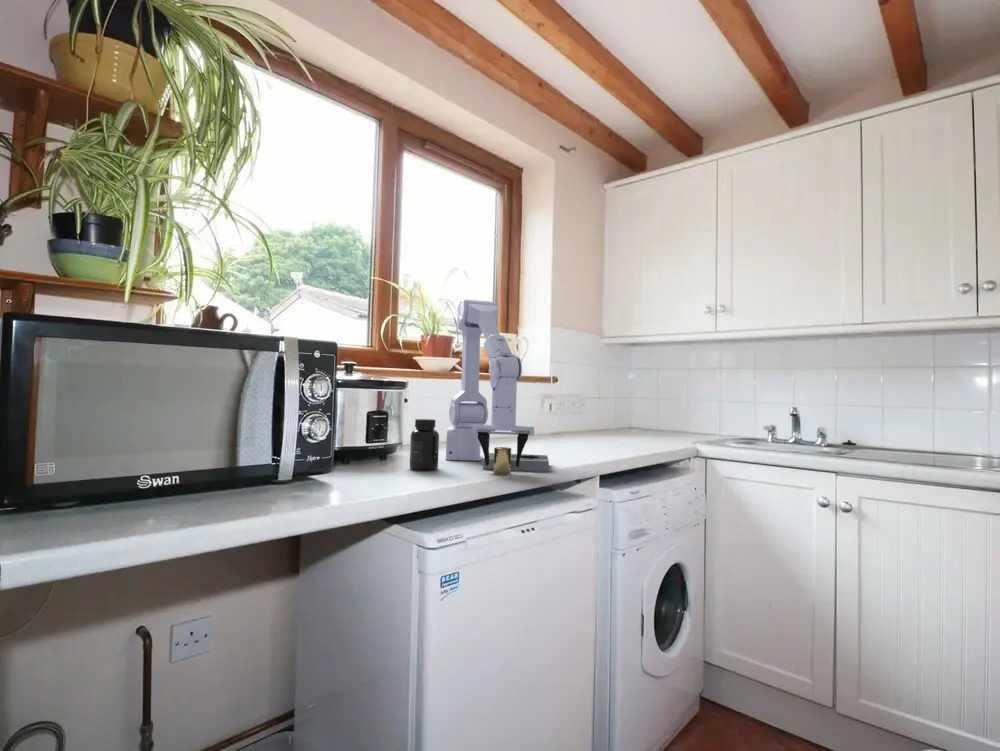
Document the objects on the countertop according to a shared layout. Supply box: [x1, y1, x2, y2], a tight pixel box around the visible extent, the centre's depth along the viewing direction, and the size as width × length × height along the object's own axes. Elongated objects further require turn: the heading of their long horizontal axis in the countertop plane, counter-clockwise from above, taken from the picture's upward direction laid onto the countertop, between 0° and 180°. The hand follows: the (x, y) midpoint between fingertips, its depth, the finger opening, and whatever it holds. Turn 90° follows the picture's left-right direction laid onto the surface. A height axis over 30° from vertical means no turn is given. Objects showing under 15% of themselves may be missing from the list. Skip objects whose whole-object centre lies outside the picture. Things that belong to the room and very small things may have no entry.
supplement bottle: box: [409, 418, 440, 472], centre depth 126 cm, size 7×7×12 cm
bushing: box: [493, 446, 512, 476], centre depth 123 cm, size 4×4×6 cm
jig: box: [482, 452, 550, 473], centre depth 134 cm, size 16×12×2 cm
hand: (502, 465), depth 123 cm, fingers open, 6 cm apart
